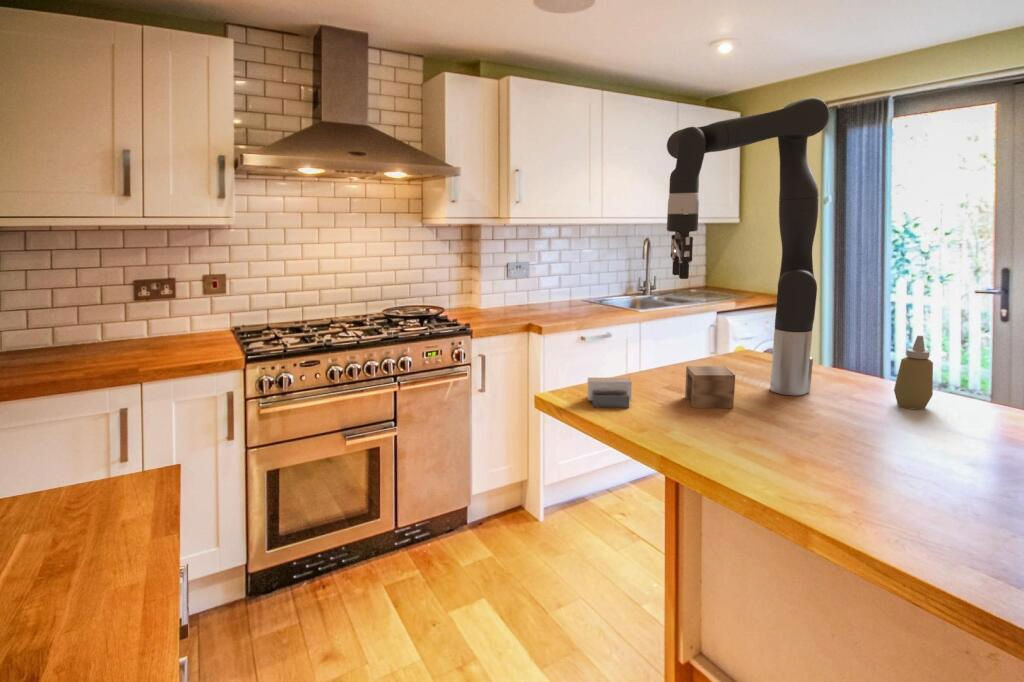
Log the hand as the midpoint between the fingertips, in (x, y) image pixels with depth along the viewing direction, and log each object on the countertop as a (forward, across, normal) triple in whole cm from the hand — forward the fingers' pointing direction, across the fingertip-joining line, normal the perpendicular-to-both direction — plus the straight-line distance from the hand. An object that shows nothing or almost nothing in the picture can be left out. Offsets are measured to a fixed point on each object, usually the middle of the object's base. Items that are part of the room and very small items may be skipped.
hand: (680, 276), depth 156 cm
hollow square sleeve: (+32, +4, +8) cm, 33 cm away
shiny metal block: (+31, +4, -18) cm, 36 cm away
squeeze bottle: (+32, +7, +57) cm, 66 cm away
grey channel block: (+32, +4, -18) cm, 37 cm away
